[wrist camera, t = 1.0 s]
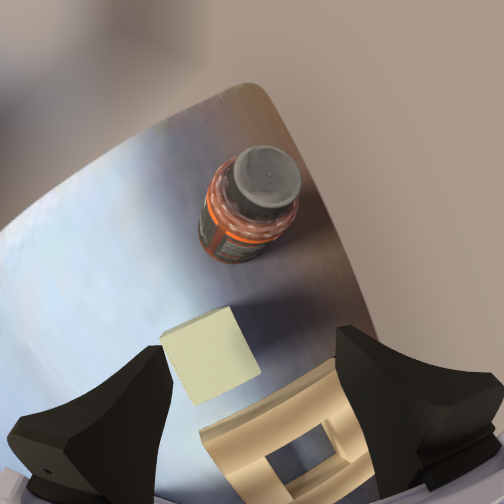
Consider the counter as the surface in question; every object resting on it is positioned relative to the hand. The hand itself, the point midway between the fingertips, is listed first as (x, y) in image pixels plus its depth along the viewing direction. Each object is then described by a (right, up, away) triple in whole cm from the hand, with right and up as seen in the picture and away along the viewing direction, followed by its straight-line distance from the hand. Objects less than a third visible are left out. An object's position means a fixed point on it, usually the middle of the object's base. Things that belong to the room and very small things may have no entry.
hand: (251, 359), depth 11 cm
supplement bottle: (-2, +6, +15) cm, 16 cm away
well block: (+4, -15, +12) cm, 20 cm away
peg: (-4, -3, +12) cm, 13 cm away
